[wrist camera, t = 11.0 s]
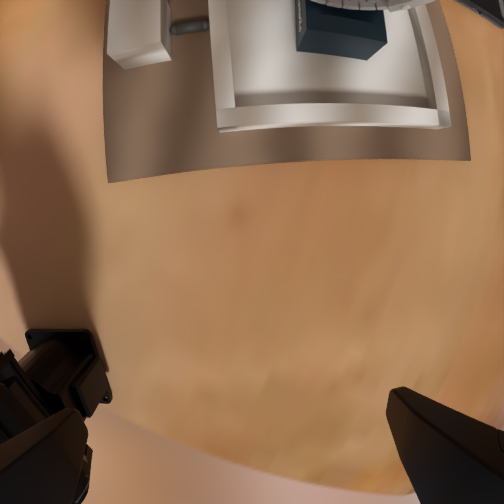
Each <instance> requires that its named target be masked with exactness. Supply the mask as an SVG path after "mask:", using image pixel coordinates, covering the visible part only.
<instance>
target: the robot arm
mask: <svg viewBox="0 0 504 504" xmlns="http://www.w3.org/2000/svg"><path fill="white" fill-rule="evenodd" d="M30 335H31V336H32V337H31V336H30ZM84 335H86V336H87V338H85V337H84ZM25 337H26V340H27V343H28V346H29V349H30V351H29V352H28V353H27V354H26V355H25V356H24V357H23V358H22V359H21V360H20V361H19V362H17V361H16V359H15V358H14V356H15V355H14V354H13V352H12V351H11V349H9V350H7V351H6V352H4V353H2V352H0V504H81V503H82V502H83V500H84V499H85V497H86V495H87V493H88V489H89V480H90V470H91V459H92V452H93V450H92V449H91V448H90V447H89V446H88V445H87V444H86V443H87V438H88V430H87V427H86V425H85V423H84V421H85V419H86V418H90V417H91V416H92V415H93V413H94V411H95V409H96V408H97V406H98V404H99V403H104V404H109V403H110V402H111V401H112V394H111V392H110V389H109V382H108V380H107V377H106V374H105V371H104V368H103V365H102V361H101V359H100V357H99V356H98V353H97V350H96V346H95V343H94V340H93V336H92V334H91V332H90V331H88V330H85V329H29V330H27V331H26V332H25ZM104 396H105V397H107V398H105V397H104ZM386 417H387V420H388V423H389V426H390V429H391V432H392V435H393V438H394V441H395V445H396V448H397V451H398V454H399V457H400V459H401V462H402V464H403V466H404V468H405V470H406V473H407V475H408V477H409V479H410V481H411V483H412V486H413V488H414V490H415V492H416V494H417V496H418V499H419V501H420V503H421V504H504V431H502V430H500V429H498V430H497V429H496V428H495V427H492V426H490V425H488V424H485V423H483V422H481V421H478V420H476V419H474V418H472V417H469V416H467V415H465V414H463V413H460V412H458V411H456V410H454V409H452V408H449V407H447V406H445V405H443V404H441V403H438V402H436V401H434V400H432V399H430V398H428V397H426V396H423V395H421V394H419V393H417V392H415V391H413V390H411V389H409V388H407V387H404V386H403V387H398V388H394V389H392V390H391V391H390V393H389V397H388V403H387V409H386Z"/></svg>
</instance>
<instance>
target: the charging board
mask: <svg viewBox="0 0 504 504" xmlns="http://www.w3.org/2000/svg"><path fill="white" fill-rule="evenodd" d="M383 11H384V18H385V25H386V33H387V41H388V43H387V44H386V45H385V46H383V47H382V48H381V49H380V50H379V51H378V52H376V53H375V54H374V55H373V56H372V57H371V58H369V59H368V60H367V61H366V60H360V59H354V58H348V57H341V56H334V55H326V54H317V53H308V52H297V51H296V19H295V0H107V2H106V14H105V28H104V48H103V116H104V138H105V153H106V166H107V177H108V183H114V182H120V181H126V180H132V179H139V178H145V177H152V176H159V175H166V174H173V173H181V172H189V171H197V170H206V169H215V168H224V167H234V166H245V165H257V164H269V163H284V162H300V161H320V160H347V159H430V160H456V161H471V157H470V145H469V135H468V126H467V118H466V111H465V104H464V98H463V92H462V86H461V81H460V76H459V71H458V66H457V62H456V57H455V53H454V49H453V45H452V41H451V37H450V34H449V30H448V27H447V23H446V20H445V17H444V13H443V10H442V7H441V4H440V1H439V0H436V1H433V2H430V3H427V4H424V5H421V6H417V7H413V8H410V9H408V10H399V11H394V12H390V11H389V10H388V9H387V10H383Z"/></svg>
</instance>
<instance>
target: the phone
mask: <svg viewBox="0 0 504 504" xmlns="http://www.w3.org/2000/svg"><path fill="white" fill-rule="evenodd" d="M454 1H456V2H458V3H460V4H462V5H463V6H465V7H467V8H469V9H470V10H472V11H474V12H475V13H477V14H479V15H480V16H482V17H483V18H485V19H487V20H488V21H490V22H491V23H493V24H494V25H496V26H497V27H499V28H501V29H504V0H454ZM459 1H461V2H459ZM472 8H474V9H476V10H477V11H479V12H481V13H479V12H477V11H475V10H474V9H472Z"/></svg>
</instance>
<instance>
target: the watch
mask: <svg viewBox="0 0 504 504" xmlns="http://www.w3.org/2000/svg"><path fill="white" fill-rule="evenodd" d="M433 1H436V0H295V19H296V51H297V52H308V53H317V54H326V55H334V56H341V57H348V58H354V59H360V60H366V61H367V60H368V59H369V58H371V57H372V56H373V55H374V54H375V53H376V52H378V51H379V50H380V49H381V48H382V47H383V46H385V45H386V44H387V43H388V41H387V33H386V25H385V18H384V11H383V10H387V9H388V10H389V11H390V12H394V11H399V10H408V9H410V8H413V7H417V6H421V5H424V4H427V3H430V2H433Z"/></svg>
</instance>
